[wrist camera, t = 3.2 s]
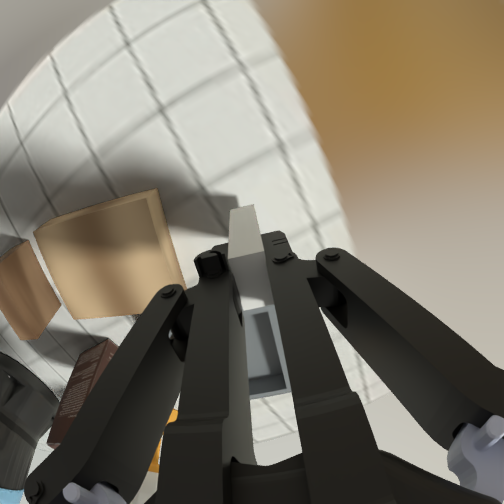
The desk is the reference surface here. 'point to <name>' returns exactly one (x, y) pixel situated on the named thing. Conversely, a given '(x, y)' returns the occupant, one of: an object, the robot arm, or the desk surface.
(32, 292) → the brown rectangular block
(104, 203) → the light brown wooden block
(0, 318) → the desk surface
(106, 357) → the box
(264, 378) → the tray
